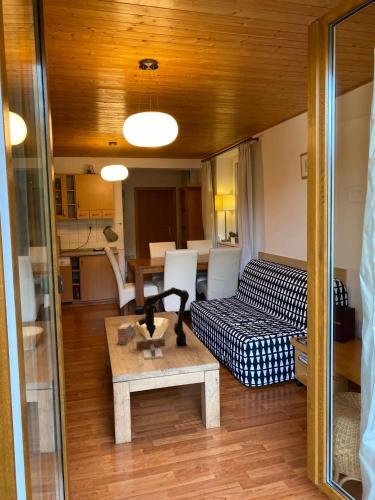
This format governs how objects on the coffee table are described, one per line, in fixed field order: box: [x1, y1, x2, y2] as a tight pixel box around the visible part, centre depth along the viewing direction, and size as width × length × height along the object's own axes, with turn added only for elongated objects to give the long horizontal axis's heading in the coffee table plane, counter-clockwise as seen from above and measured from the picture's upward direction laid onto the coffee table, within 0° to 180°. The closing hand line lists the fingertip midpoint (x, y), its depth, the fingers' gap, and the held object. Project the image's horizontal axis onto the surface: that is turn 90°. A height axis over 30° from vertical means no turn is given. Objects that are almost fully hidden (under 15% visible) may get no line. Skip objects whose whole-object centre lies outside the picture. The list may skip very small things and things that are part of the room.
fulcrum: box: [142, 344, 164, 360], centre depth 265 cm, size 12×14×6 cm
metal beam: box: [135, 337, 166, 351], centre depth 281 cm, size 20×4×5 cm, turn 109°
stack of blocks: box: [117, 323, 137, 346], centre depth 297 cm, size 21×6×12 cm, turn 168°
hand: (150, 335), depth 280 cm, fingers open, 9 cm apart
